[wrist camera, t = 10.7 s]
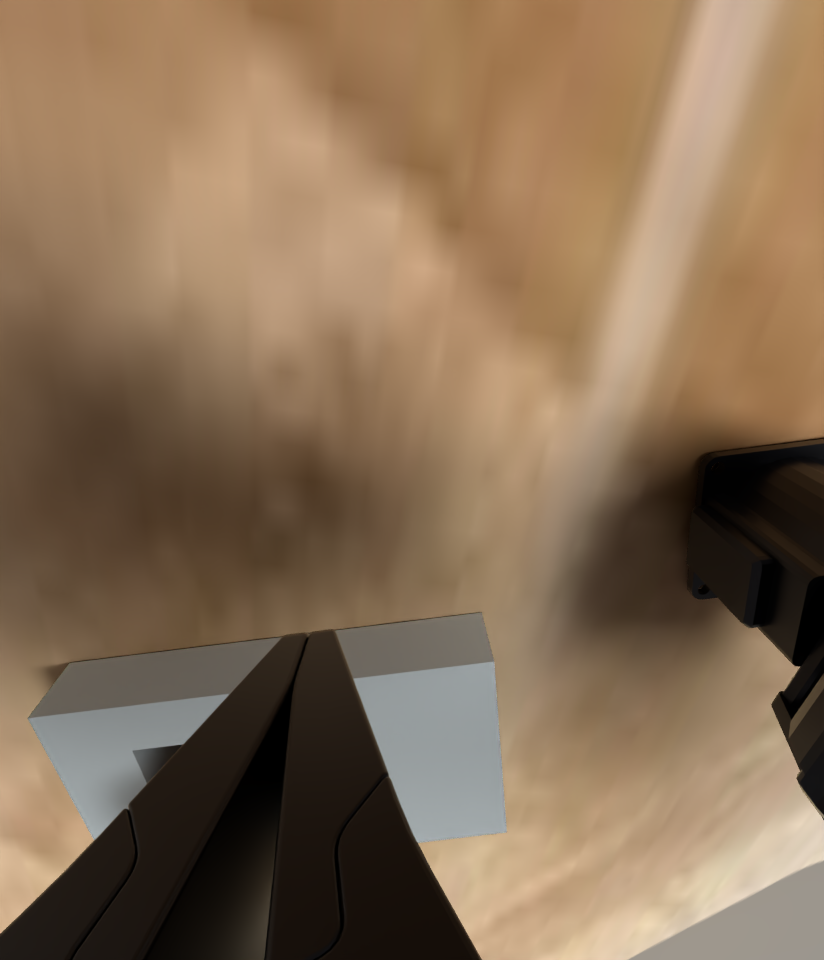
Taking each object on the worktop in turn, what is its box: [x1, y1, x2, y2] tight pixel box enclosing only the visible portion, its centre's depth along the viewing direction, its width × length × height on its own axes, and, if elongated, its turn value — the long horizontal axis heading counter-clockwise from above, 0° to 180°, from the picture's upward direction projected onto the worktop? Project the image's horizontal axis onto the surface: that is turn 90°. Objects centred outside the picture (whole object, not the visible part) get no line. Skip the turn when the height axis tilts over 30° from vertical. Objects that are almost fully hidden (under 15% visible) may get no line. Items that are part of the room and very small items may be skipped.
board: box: [28, 613, 507, 843], centre depth 24 cm, size 18×10×3 cm, turn 97°
